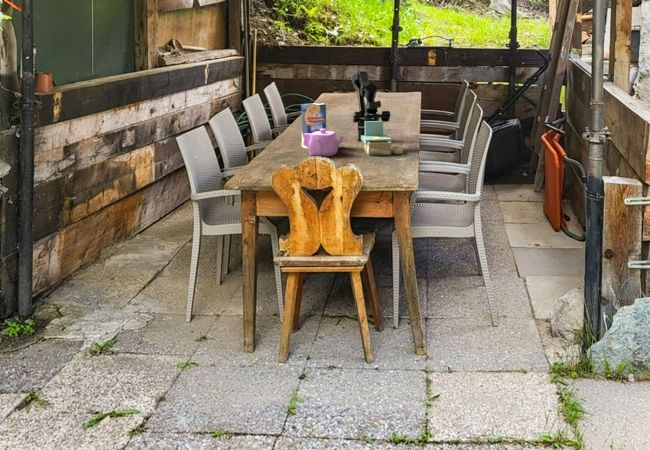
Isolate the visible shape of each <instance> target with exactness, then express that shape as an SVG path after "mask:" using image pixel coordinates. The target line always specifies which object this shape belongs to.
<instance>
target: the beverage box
mask: <svg viewBox="0 0 650 450" xmlns="http://www.w3.org/2000/svg"><path fill="white" fill-rule="evenodd" d="M300 118H301V119H300V121H301V122H300V123H301V128H300V129H301V147H302V148H305V149H308V147H306V146H305V145H303V144H304V134H312V133H314V132H316V131H320V129H326V130H327V104H326V103H322V102H316V103H315V102H314V103H301V104H300ZM309 139H310V137H309Z"/></svg>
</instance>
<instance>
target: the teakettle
mask: <svg viewBox="0 0 650 450" xmlns="http://www.w3.org/2000/svg"><path fill="white" fill-rule="evenodd" d="M309 137H310V139H309ZM345 137H346V136H345V135H340V136H339V138H338V137H337V133H336V131H329V130H328V131H327V128H326V129H320V131H316V132H314V133H312V134H304V144H303V145H305V146H306V147H308V154H309V156H313V157H332V156H334V155H336V154H337V153H338V150H339V146H341V144H342V142H343V141H344V139H345ZM337 138H338V139H337Z"/></svg>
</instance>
